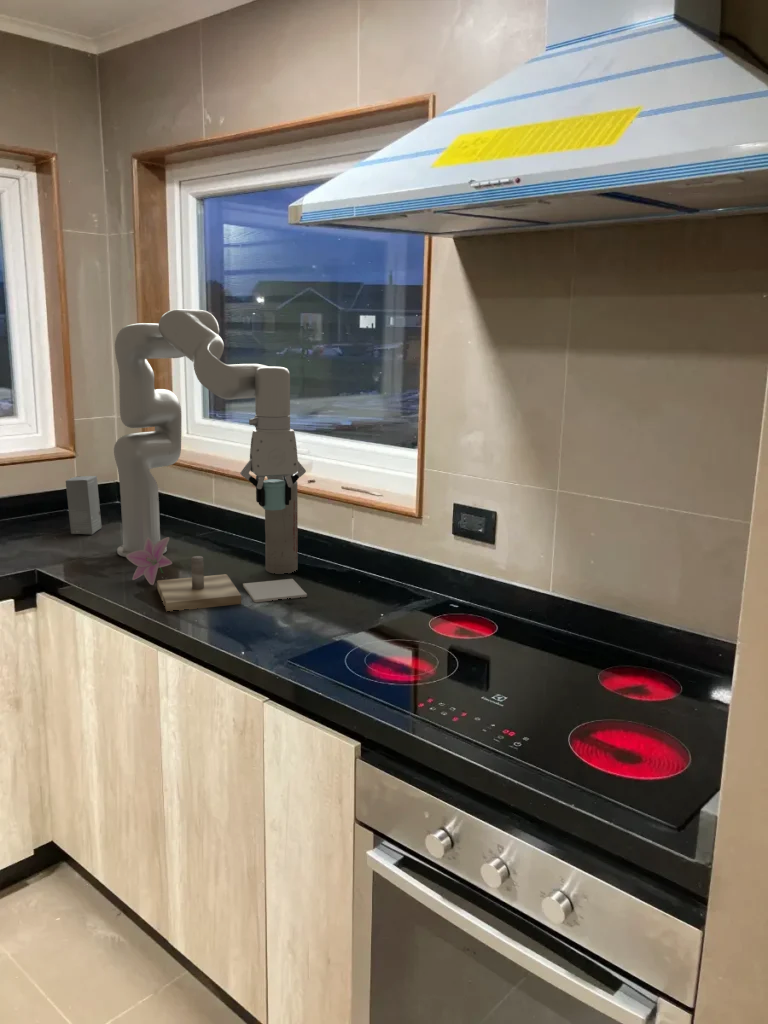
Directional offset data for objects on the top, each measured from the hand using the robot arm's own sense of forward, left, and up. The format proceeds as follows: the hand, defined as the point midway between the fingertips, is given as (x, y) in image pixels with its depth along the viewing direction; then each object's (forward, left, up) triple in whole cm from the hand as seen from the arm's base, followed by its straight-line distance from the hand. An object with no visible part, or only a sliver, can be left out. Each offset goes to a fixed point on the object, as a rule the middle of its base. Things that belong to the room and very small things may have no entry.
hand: (273, 503), depth 185 cm
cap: (0, 0, -1) cm, 1 cm away
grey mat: (0, 0, -21) cm, 21 cm away
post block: (-2, -17, -21) cm, 27 cm away
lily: (-19, -25, -21) cm, 38 cm away
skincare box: (-69, -38, -21) cm, 82 cm away
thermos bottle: (-16, +6, -21) cm, 27 cm away
